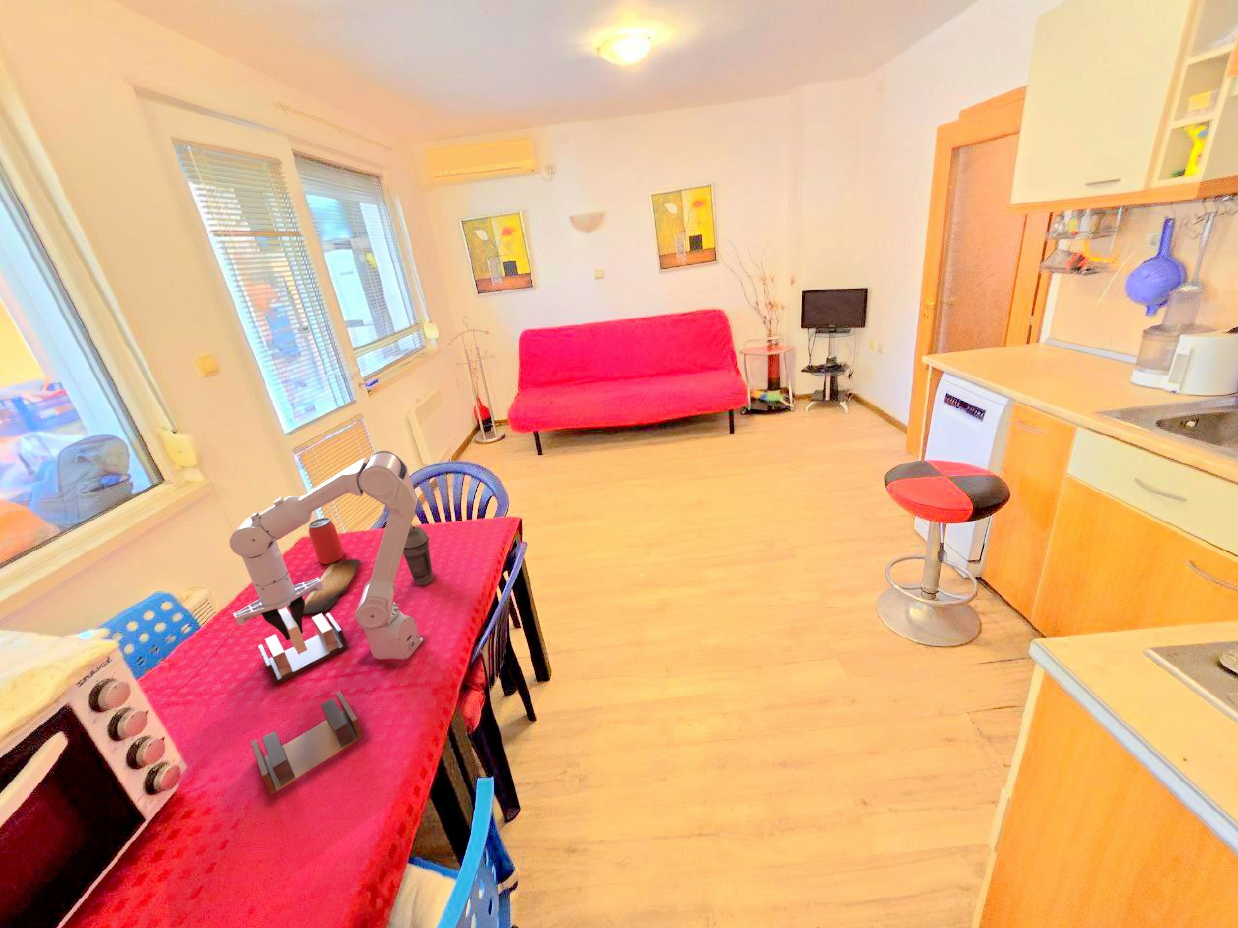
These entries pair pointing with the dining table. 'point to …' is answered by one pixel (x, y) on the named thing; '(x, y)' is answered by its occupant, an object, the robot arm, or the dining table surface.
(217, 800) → the dining table surface
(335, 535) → the beer can
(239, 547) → the robot arm
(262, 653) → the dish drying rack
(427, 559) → the beverage cup
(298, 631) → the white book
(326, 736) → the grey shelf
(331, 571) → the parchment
